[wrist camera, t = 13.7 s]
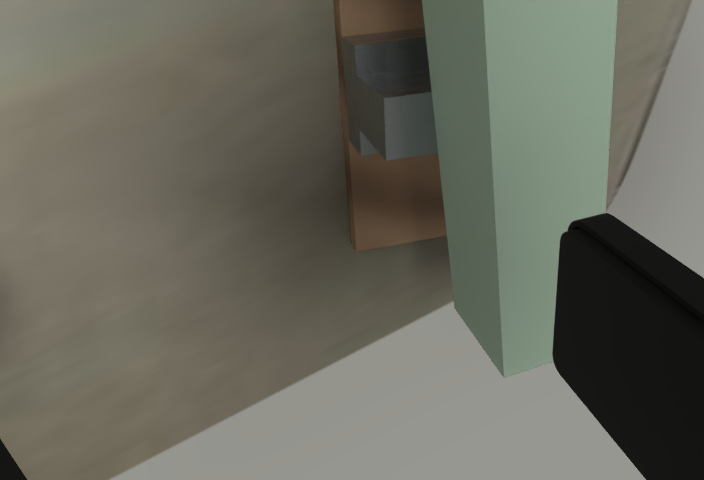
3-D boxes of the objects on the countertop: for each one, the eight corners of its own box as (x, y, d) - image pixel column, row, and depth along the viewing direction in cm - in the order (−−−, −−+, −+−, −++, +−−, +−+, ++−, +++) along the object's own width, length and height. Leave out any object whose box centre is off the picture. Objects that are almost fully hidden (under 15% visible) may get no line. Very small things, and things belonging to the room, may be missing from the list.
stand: (324, -131, 29) (374, -157, 21) (502, -140, 31) (613, -168, 23) (351, 241, 40) (391, 320, 32) (482, 218, 42) (553, 287, 33)
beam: (405, -152, 21) (473, -180, 16) (527, -176, 22) (629, -210, 17) (454, 308, 32) (504, 378, 27) (534, 283, 33) (597, 347, 28)
